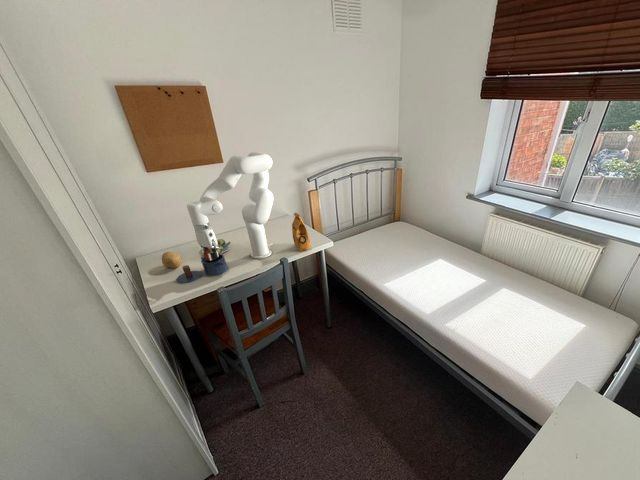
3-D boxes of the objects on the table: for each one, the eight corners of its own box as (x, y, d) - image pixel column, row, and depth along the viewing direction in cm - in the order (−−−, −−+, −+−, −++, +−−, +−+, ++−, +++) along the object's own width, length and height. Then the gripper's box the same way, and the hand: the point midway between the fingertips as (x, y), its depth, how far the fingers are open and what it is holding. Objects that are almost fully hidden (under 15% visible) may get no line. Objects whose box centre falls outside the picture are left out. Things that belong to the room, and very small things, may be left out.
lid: (192, 270, 166) (188, 259, 162) (207, 275, 161) (203, 263, 158) (172, 281, 157) (167, 269, 153) (187, 286, 152) (182, 274, 148)
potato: (168, 273, 163) (163, 261, 159) (161, 265, 172) (156, 253, 167) (187, 267, 169) (182, 255, 165) (179, 259, 177) (175, 247, 173)
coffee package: (296, 252, 183) (291, 219, 172) (293, 244, 193) (288, 212, 182) (311, 250, 186) (307, 217, 175) (308, 242, 196) (304, 210, 185)
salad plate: (234, 253, 183) (232, 247, 181) (203, 260, 176) (200, 253, 174) (230, 242, 198) (229, 236, 196) (201, 248, 191) (199, 241, 188)
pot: (214, 264, 172) (210, 251, 168) (235, 270, 166) (231, 256, 161) (197, 273, 163) (193, 259, 159) (219, 279, 157) (214, 266, 153)
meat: (213, 254, 163) (211, 248, 160) (218, 256, 161) (216, 249, 159) (205, 259, 158) (202, 252, 156) (210, 260, 157) (208, 253, 155)
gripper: (219, 226, 150) (228, 257, 159) (197, 221, 156) (207, 251, 166) (207, 231, 144) (217, 263, 154) (184, 226, 150) (195, 257, 160)
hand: (212, 257), depth 160 cm, fingers closed on meat, 4 cm apart
